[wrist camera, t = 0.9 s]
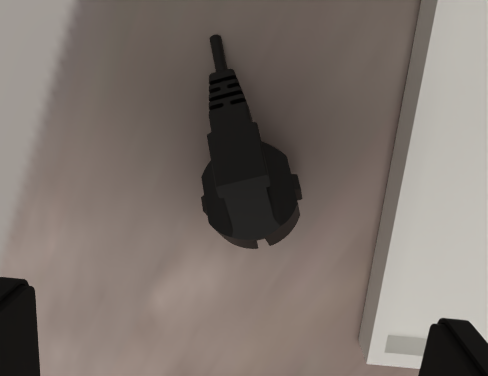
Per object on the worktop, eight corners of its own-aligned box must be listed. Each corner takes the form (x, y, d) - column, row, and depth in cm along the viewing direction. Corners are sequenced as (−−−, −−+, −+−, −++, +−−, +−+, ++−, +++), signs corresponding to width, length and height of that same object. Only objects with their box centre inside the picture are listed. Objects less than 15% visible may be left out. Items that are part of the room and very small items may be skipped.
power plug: (259, 16, 24) (309, 216, 20) (274, 87, 31) (312, 246, 27) (165, 42, 24) (194, 242, 20) (200, 106, 31) (227, 264, 27)
